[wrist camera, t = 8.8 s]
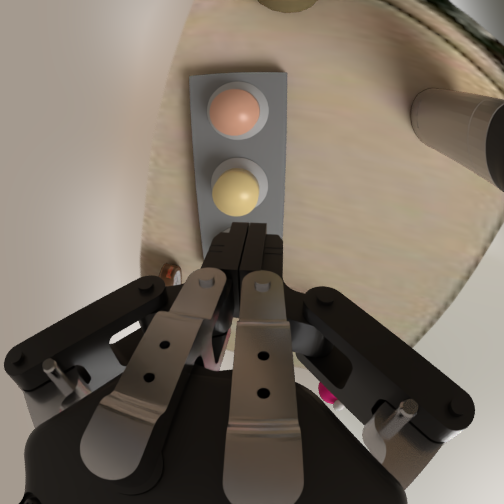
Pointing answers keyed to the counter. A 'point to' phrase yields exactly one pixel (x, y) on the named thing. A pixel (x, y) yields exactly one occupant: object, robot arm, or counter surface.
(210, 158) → the button panel
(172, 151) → the counter surface
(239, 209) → the ochre button
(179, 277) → the tin
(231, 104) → the terracotta button
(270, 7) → the squeeze bottle
